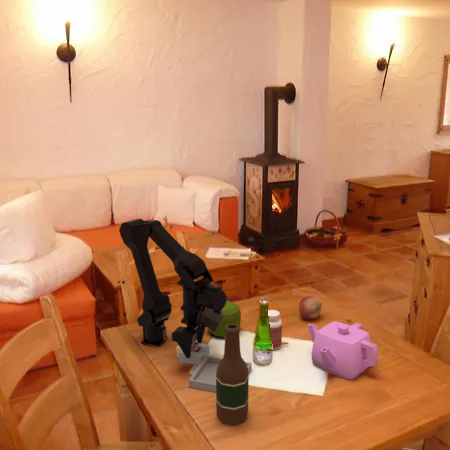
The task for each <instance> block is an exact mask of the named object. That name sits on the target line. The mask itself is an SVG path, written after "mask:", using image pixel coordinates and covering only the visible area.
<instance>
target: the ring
mask: <svg viewBox="0 0 450 450" xmlns="http://www.w3.org/2000/svg"><path fill="white" fill-rule="evenodd" d="M197 343H198V342H197ZM210 347H211V346H210V344H206V343H198V352H193V351H191V356H190V358H186V356H185V355H184V353H183V351H182V350H181V348H180V346H179V345H178V344H177V346H176V358H178V362H179V363H184V364H190V365H196V366H199V365H200V364H201V362H202V361H203V360H204V358H205V357H206V356H210V354H211V349H210Z"/></svg>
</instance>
